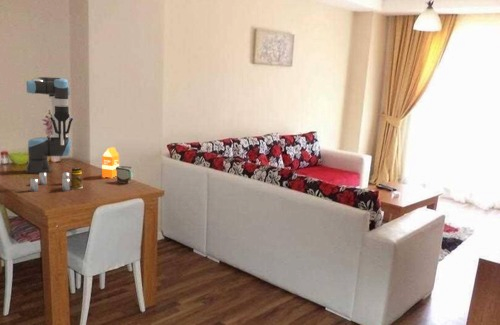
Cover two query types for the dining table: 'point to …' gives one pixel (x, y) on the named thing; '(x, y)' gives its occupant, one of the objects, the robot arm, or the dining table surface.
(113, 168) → the orange juice
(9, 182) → the dining table surface
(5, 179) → the dining table surface
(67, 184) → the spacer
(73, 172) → the condiment
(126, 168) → the retro television
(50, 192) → the dining table surface
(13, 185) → the dining table surface
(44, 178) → the cylinder
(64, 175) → the cylinder
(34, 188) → the cylinder
